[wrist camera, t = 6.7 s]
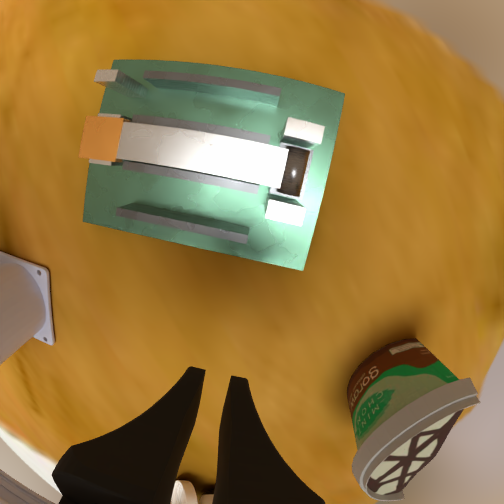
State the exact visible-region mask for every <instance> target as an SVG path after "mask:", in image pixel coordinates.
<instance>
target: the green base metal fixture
mask: <svg viewBox="0 0 504 504" xmlns="http://www.w3.org/2000/svg"><path fill="white" fill-rule="evenodd" d="M94 82H96V83H99V84H101V85H103V86H105V87H106V89H105V93H104V96H103V100H102V104H101V108H100V113H98V116H100V117H115V118H125V119H128V120H130V123H140V124H149V125H158V126H166V127H173V128H180V129H187V130H194V131H200V132H206V133H212V134H218V135H223V136H229V137H234V138H239V139H244V140H249V141H254V142H258V143H263V144H268V145H272V146H276V147H281V148H285V149H286V147H287V146H295V147H299V148H303V149H306V150H309V151H310V154H309V159H308V163H307V167H306V172H305V176H304V180H303V184H302V189H301V193H300V197H295V196H291V195H287V194H283V193H279V192H276V191H277V188H275V187H271V186H266V185H262V184H257V183H253V182H248V181H243V180H239V179H234V178H229V177H224V176H219V175H214V174H209V173H203V172H198V171H193V170H187V169H181V168H176V167H170V166H164V165H158V164H151V163H145V162H138V161H131V160H124V159H122V162H111V161H104V160H96V159H89V163H90V165H89V171H88V178H87V186H86V194H85V203H84V214H83V222H87V223H91V224H96V225H100V226H104V227H109V228H113V229H118V230H122V231H126V232H131V233H135V234H139V235H144V236H148V237H153V238H157V239H162V240H166V241H170V242H175V243H179V244H184V245H188V246H193V247H197V248H202V249H206V250H211V251H215V252H220V253H224V254H229V255H233V256H238V257H242V258H247V259H251V260H256V261H260V262H265V263H270V264H274V265H279V266H283V267H288V268H293V269H297V270H302V271H303V269H304V265H305V262H306V258H307V254H308V251H309V247H310V243H311V240H312V236H313V232H314V228H315V224H316V220H317V217H318V213H319V209H320V205H321V201H322V197H323V192H324V188H325V184H326V180H327V176H328V171H329V167H330V163H331V158H332V154H333V149H334V145H335V140H336V136H337V131H338V126H339V121H340V117H341V112H342V107H343V102H344V96H345V94H344V93H341V92H338V91H335V90H331V89H328V88H324V87H321V86H317V85H314V84H310V83H306V82H302V81H298V80H294V79H290V78H285V77H281V76H276V75H271V74H266V73H261V72H256V71H250V70H244V69H238V68H232V67H225V66H217V65H209V64H200V63H190V62H178V61H161V60H114V61H113V65H112V68H111V70H97V73H96V76H95V80H94Z"/></svg>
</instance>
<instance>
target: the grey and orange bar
mask: <svg viewBox="0 0 504 504" xmlns="http://www.w3.org/2000/svg"><path fill="white" fill-rule="evenodd" d="M309 154H310V151H309V150H306V149H303V148H299V147H295V146H287V147H286V149H285V148H281V147H276V146H272V145H268V144H263V143H258V142H254V141H249V140H244V139H239V138H234V137H229V136H223V135H218V134H212V133H206V132H200V131H194V130H187V129H180V128H173V127H166V126H158V125H149V124H140V123H130V120H128V119H125V118H115V117H100V116H86V120H85V125H84V130H83V135H82V140H81V146H80V151H79V157H80V158H88V159H96V160H104V161H111V162H122V159H124V160H131V161H138V162H145V163H151V164H158V165H164V166H170V167H176V168H181V169H187V170H193V171H198V172H203V173H209V174H214V175H219V176H224V177H229V178H234V179H239V180H243V181H248V182H253V183H257V184H262V185H266V186H271V187H275V188H277V191H276V192H279V193H283V194H287V195H291V196H295V197H300V193H301V189H302V184H303V180H304V176H305V172H306V167H307V163H308V159H309Z"/></svg>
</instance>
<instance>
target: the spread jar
mask: <svg viewBox="0 0 504 504" xmlns="http://www.w3.org/2000/svg"><path fill="white" fill-rule="evenodd" d="M214 490H215V489H214ZM214 490H210V491H207V492H204V493H203V494H202V495H201V497H200V500H199V504H212V502H213V496H214ZM171 500H172V501H171V502H172V504H198V502H197V496H196V492H195V489H194V487H193V485H192V483H191V482H190V481H184V480H177V481H175V485H174V489H173V493H172V498H171Z"/></svg>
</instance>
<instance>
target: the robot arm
mask: <svg viewBox="0 0 504 504" xmlns="http://www.w3.org/2000/svg"><path fill="white" fill-rule="evenodd" d="M40 272H41V273H40ZM32 337H34V338H36V339H38V340H40V341H43V342H45V343H47V344H49V345H53V344H54V343H55V339H54V331H53V322H52V312H51V299H50V281H49V271H48V270H47V268H45V267H42V266H39V265H36V264H34V263H31V262H28V261H25V260H23V259H20V258H17V257H14V256H12V255H9V254H7V253H4V252H1V251H0V365H1V364H2V363H3V362H4V361H5V360H6V359H7V358H9V357H10V356H11V355H12V354H13V353H14V352H15V351H17V350H18V349H19V348H20V347H21V346H22V345H23V344H25V343H26V342H27V341H28V340H29V339H30V338H32ZM205 371H206V370H204V369H200V368H196V367H189V368H188V369H187V370H186V372H185V373H184V374H183V376H182V377H181V378H180V379H179V381H178V382H177V383H176V384H175V385H174V386H173V387H172V388H171V389H170V390H169V391H168V392H167V393H166V394H165V395H164V396H163V397H162V398H161V399H160V400H159V401H157V402H156V403H155V404H154V405H153V406H152V407H150V408H149V409H148V410H147V411H145V412H144V413H142V414H141V415H140V416H138V417H137V418H135V419H134V420H132V421H130V422H129V423H127V424H125V425H123V426H122V427H120V428H118V429H116V430H114V431H112V432H109V433H107V434H105V435H103V436H100V437H98V438H95V439H92V440H89V441H86V442H83V443H80V444H76V445H73V446H71V447H70V448H69V449H68V450H67V451H66V453H65V454H64V455H63V456H62V457H61V459H60V460H59V462H58V464H57V465H56V467H55V469H54V471H53V473H52V477H53V479H54V482H55V483H56V485H57V487H58V488H59V490H60V492H61V493H62V495H63V496H62V498H61V500H60V502H59V504H170V502H171V498H172V493H173V489H174V485H175V481H176V477H177V472H178V469H179V466H180V463H181V460H182V457H183V455H184V452H185V449H186V447H187V444H188V441H189V438H190V436H191V433H192V430H193V427H194V425H195V421H196V417H197V413H198V409H199V404H200V399H201V393H202V387H203V382H204V376H205ZM0 504H55V503H53V502H51V501H49V500H47V499H46V498H44V497H42V496H40V495H39V494H37V493H35V492H34V491H32V490H30V489H28V488H27V487H25V486H24V485H22V484H21V483H19V482H18V481H16V480H15V479H13V478H12V477H10V476H9V475H7V474H6V473H5V472H3V471H2V470H1V469H0ZM212 504H325V502H324V500H323V499H322V498H321V497H319V496H318V495H317V494H316V493H315V492H313V491H312V490H311V489H310V488H309V487H308V486H307V485H306V484H305V483H304V482H303V481H302V480H301V479H300V478H299V477H298V476H297V475H296V474H295V473H294V472H293V470H292V469H291V468H290V467H289V466H288V465H287V463H286V462H285V461H284V460H283V458H282V457H281V455H280V454H279V453H278V451H277V450H276V448H275V446H274V445H273V443H272V442H271V440H270V438H269V436H268V434H267V433H266V431H265V429H264V427H263V425H262V422H261V420H260V418H259V415H258V413H257V410H256V408H255V405H254V402H253V399H252V396H251V392H250V388H249V383H248V380H247V379H246V378H241V377H236V376H231V379H230V383H229V387H228V391H227V395H226V399H225V403H224V407H223V412H222V418H221V423H220V429H219V445H218V464H217V477H216V484H215V490H214V496H213V502H212Z"/></svg>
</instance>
